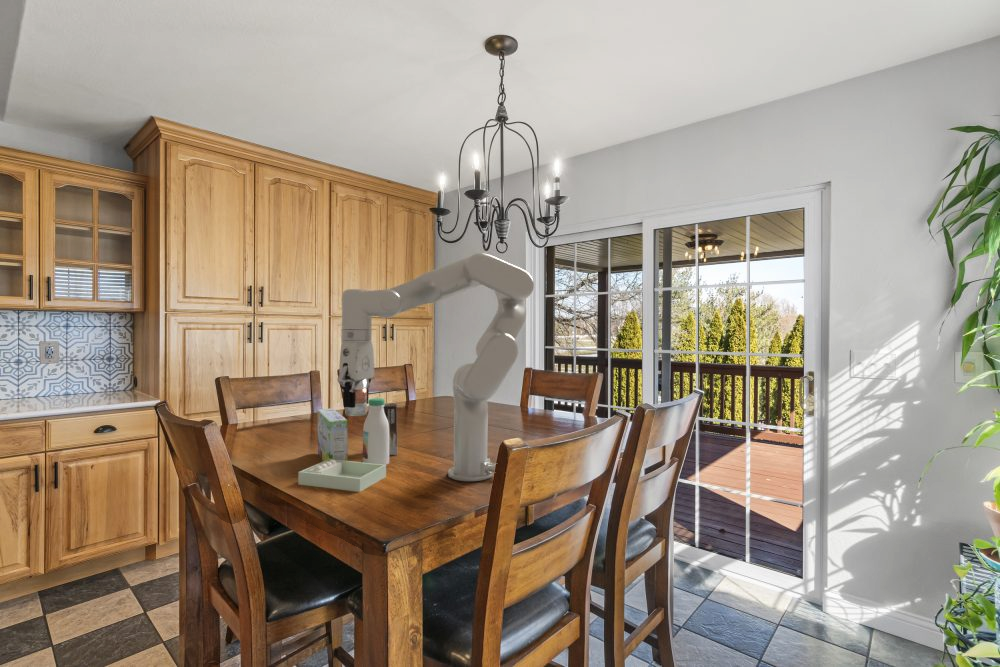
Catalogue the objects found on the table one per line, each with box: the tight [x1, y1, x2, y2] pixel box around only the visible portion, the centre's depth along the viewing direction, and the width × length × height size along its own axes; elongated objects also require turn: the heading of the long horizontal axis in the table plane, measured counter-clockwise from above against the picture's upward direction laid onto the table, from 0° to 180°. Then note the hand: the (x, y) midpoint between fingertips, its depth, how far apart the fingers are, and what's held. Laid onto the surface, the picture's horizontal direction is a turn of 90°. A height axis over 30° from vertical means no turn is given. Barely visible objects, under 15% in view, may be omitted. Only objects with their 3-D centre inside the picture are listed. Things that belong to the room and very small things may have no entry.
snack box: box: [316, 407, 349, 462], centre depth 150 cm, size 21×6×15 cm, turn 30°
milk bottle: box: [362, 397, 390, 466], centre depth 148 cm, size 8×8×20 cm
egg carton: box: [308, 460, 342, 476], centre depth 133 cm, size 4×9×4 cm, turn 164°
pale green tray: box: [297, 459, 387, 493], centre depth 131 cm, size 18×13×4 cm
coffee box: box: [368, 402, 398, 456], centre depth 162 cm, size 9×6×16 cm
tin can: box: [344, 378, 368, 417], centre depth 130 cm, size 6×6×10 cm
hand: (356, 404), depth 130 cm, fingers closed on tin can, 5 cm apart
